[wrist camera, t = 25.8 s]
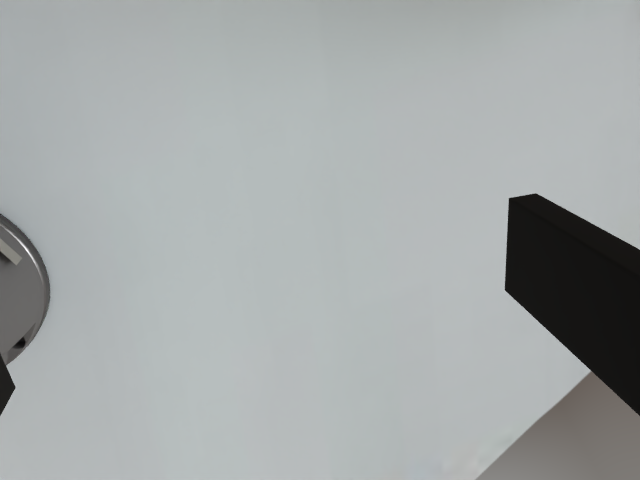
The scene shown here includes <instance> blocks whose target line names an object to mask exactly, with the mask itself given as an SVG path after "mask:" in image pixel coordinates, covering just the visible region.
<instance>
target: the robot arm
mask: <svg viewBox="0 0 640 480" xmlns="http://www.w3.org/2000/svg"><path fill="white" fill-rule="evenodd" d="M505 291H506V292H508V293H509V294H510V295H511V296H512V297H513V298H514V299H515V300H516V301H517V302H518V303H519V304H520V305H521V306H523V307H524V308H525V309H526V310H527V311H528V312H529V313H530V314H531V315H532V316H533V317H534V318H535V319H536V320H538V321H539V322H540V323H541V324H542V325H543V326H544V327H545V328H546V329H547V330H548V331H549V332H550V333H551V334H553V335H554V336H555V337H556V338H557V339H558V340H559V341H560V342H561V343H562V344H563V345H564V346H565V347H566V348H568V349H569V350H570V351H571V352H572V353H573V354H574V355H575V356H576V357H577V358H578V359H579V360H580V361H581V362H583V363H584V364H585V365H586V366H587V367H588V368H589V369H590V370H591V371H592V372H593V373H594V374H595V375H596V376H598V377H599V378H600V379H601V380H602V381H603V382H604V383H605V384H606V385H607V386H608V387H610V389H612V390H613V391H614V392H615V393H616V394H617V395H618V396H619V397H620V398H621V399H622V400H623V401H624V402H625V403H627V404H628V405H629V406H630V407H631V408H632V409H633V410H634V411H635V412H636V413H638V415H639V416H640V250H639V249H637V248H636V247H634V246H632V245H630V244H628V243H626V242H625V241H623V240H621V239H619V238H617V237H615V236H614V235H612V234H610V233H608V232H606V231H604V230H602V229H601V228H599V227H597V226H595V225H593V224H591V223H590V222H588V221H586V220H584V219H582V218H580V217H579V216H577V215H575V214H573V213H571V212H569V211H568V210H566V209H564V208H562V207H560V206H558V205H556V204H555V203H553V202H551V201H549V200H547V199H545V198H544V197H542V196H540V195H538V194H530V195H525V196H519V197H513V198H509V210H508V232H507V254H506V277H505ZM49 302H50V284H49V278H48V274H47V271H46V267H45V265H44V263H43V260H42V258H41V256H40V255H39V253H38V251H37V249H36V248H35V247H34V245H33V244H32V242H31V241H30V240H29V239H28V238H27V236H26V235H25V234H24V233H23V232H22V231H21V230H20V229H19V228H18V227H17V226H15V225H14V224H13V223H12V222H11V221H9V220H8V219H7V218H5V217H4V216H2V215H1V214H0V415H1V414H2V412H3V410H4V408H5V406H6V404H7V402H8V400H9V399H10V397H11V395H12V393H13V391H14V389H15V385H14V383H13V381H12V379H11V376H10V374H9V372H8V370H7V367H6V365H7V364H9V363H10V362H11V361H13V360H14V359H15V358H16V357H17V356H19V355H20V354H21V353H22V352H23V350H24V349H25V348H26V347H27V346H28V345H29V344H30V343H31V341H32V340H33V339H34V337H35V336H36V334H37V332H38V331H39V329H40V327H41V325H42V323H43V321H44V319H45V317H46V314H47V311H48V307H49Z"/></svg>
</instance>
